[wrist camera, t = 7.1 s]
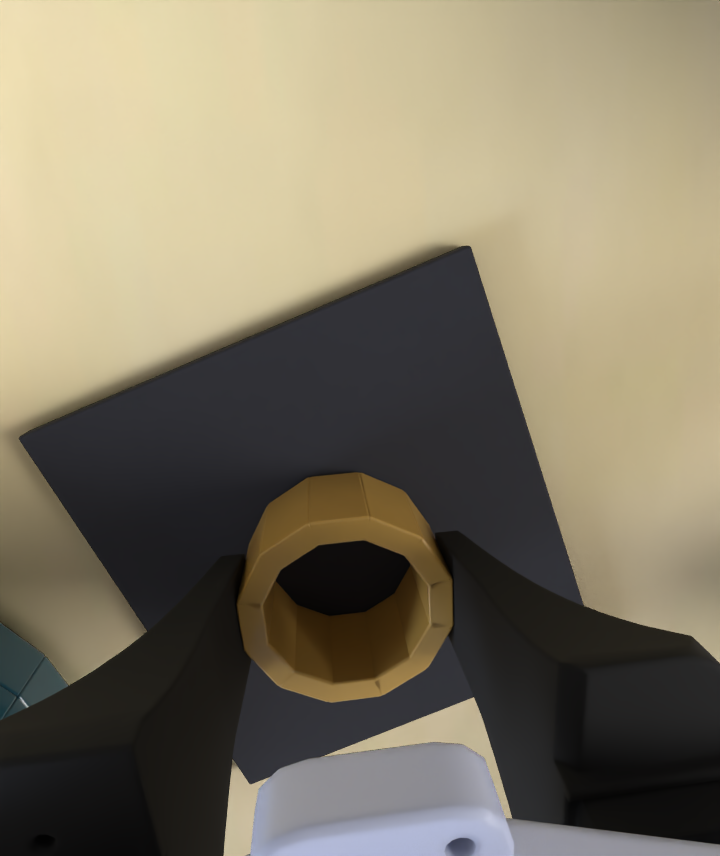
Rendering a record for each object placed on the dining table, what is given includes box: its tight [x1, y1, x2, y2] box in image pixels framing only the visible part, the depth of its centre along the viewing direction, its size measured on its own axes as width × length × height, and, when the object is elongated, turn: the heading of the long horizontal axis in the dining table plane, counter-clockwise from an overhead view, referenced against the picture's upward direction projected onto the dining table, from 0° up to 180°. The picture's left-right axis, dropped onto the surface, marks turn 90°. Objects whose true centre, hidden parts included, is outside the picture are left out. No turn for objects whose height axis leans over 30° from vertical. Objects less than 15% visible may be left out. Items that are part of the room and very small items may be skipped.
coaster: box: [19, 246, 584, 784], centre depth 15 cm, size 13×12×1 cm
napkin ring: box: [236, 472, 454, 703], centre depth 13 cm, size 5×5×3 cm
